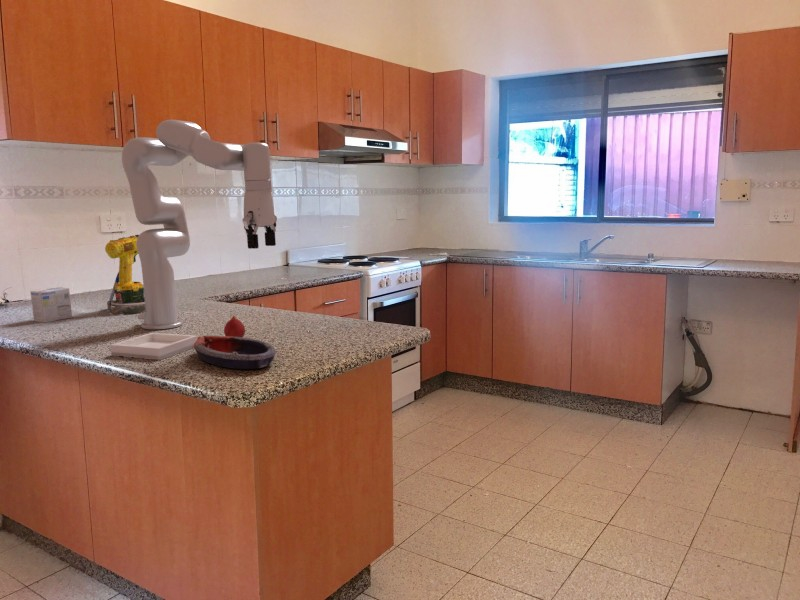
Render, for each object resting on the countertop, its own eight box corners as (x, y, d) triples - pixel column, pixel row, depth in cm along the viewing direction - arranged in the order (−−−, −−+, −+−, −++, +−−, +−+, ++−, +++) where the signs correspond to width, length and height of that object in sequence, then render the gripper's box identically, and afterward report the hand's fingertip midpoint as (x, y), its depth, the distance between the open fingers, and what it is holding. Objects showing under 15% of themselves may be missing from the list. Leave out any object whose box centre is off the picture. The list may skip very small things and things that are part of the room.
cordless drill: (166, 310, 243) (160, 236, 238) (110, 316, 234) (103, 239, 229) (157, 304, 259) (152, 234, 254) (105, 309, 250) (98, 236, 245)
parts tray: (111, 355, 175) (110, 344, 174) (152, 342, 189) (151, 332, 189) (160, 359, 169) (159, 348, 169) (198, 346, 184) (198, 335, 183)
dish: (237, 378, 151) (235, 357, 151) (178, 356, 174) (177, 338, 173) (293, 365, 162) (292, 346, 161) (231, 346, 184) (230, 329, 183)
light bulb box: (62, 316, 236) (58, 286, 234) (73, 317, 232) (70, 287, 231) (32, 321, 227) (29, 290, 225) (43, 323, 223) (40, 291, 222)
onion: (221, 343, 187) (219, 316, 186) (238, 340, 191) (237, 313, 190) (231, 346, 183) (229, 318, 181) (249, 343, 187) (248, 315, 185)
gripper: (262, 187, 196) (265, 244, 199) (230, 187, 180) (234, 249, 183) (284, 186, 194) (287, 244, 196) (254, 186, 177) (258, 249, 180)
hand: (262, 247), depth 189 cm, fingers open, 9 cm apart
